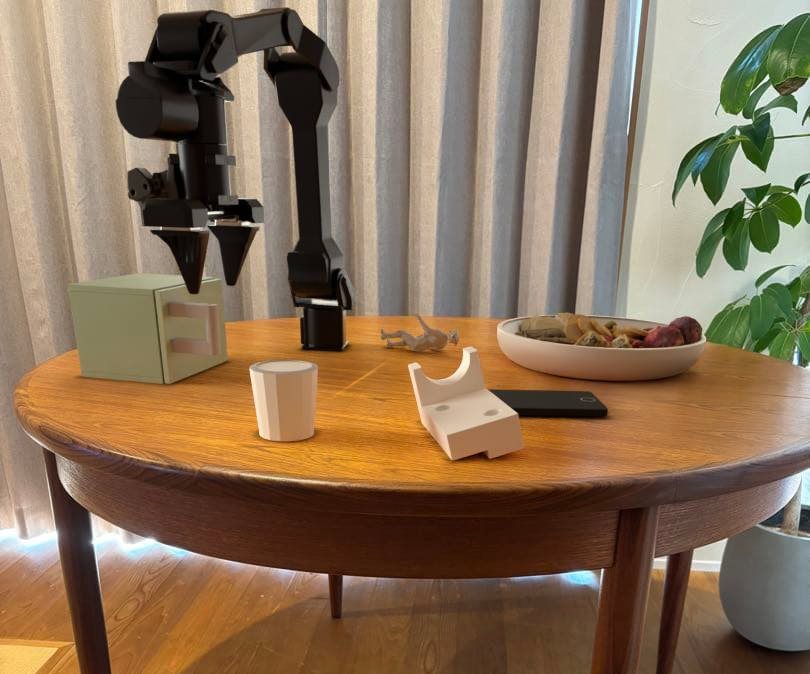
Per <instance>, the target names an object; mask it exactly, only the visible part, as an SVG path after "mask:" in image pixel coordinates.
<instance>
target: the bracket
mask: <svg viewBox="0 0 810 674" xmlns="http://www.w3.org/2000/svg"><path fill="white" fill-rule="evenodd" d="M407 367H408V371H409V375H410V380H411V383H412V387H413V392H414V396H415V400H416V405H417V409H418V414H419V417H420V422H421V424H422V425H423V426H424V428H425V429H426V430H427V432H428V433H429V434H430V435H431V436H432V437H433V439H434V440H435V441H436V443H437V444H438V445H439V447H441V449H442V450H443V451H444V453H445V454H446V455H447V456H448V457H449V459H450V460H451V461H456V460H460V459H463V458H467V457H469V456H472V455H476V454H479V453H483V454H484V455H485V456H486V457H487V458H488V459H490V460H491V459H494V458H497V457H501V456H503V455H508V454H510V453H513V452H517V451H519V450H520V451H521V450H523V449H525V445H524V438H523V433H522V429H521V428H522V427H521V423H520V417H519V416H520V415H518V413H517V412H515V411H514V410H513V409H512V408H510V407H509V406H508V405H507V404H505V403H504V402H503V401H501V400H500V399H499V398H498V397H496V396H495V395H494V394H493V393H491V392H490V391H489V390H488V389H489V388H486V385H485V384H486V383H485V380H484V375H483V370H482V364H481V358H480V353H479V350H478V349H477V348H475V347H473V346H472V345H470V346H466V347H463V348H462V360H461V363H460V365H459V367H458V368H457V370H456V371H455V372H454V373H452V375H449V376H448V377H446V378H442V379H434V378H430V377H428V376H426V375H425V372H424V371H423V367H422V366H421V365H420V364H419V363H418V362H413V363H409V364H407Z"/></svg>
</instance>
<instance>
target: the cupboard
mask: <svg viewBox="0 0 810 674" xmlns="http://www.w3.org/2000/svg"><path fill="white" fill-rule="evenodd" d="M213 279H216V277H214V276H202V281H208V280H213ZM182 285H185V282H184V280H183V277H182V275H181V274H180V275H179V274H163V273H162V274H161V273H142V272H138V273H137V272H136V273H130V274H125V275H124V274H123V275H118V276H111V277H105V278H100V279H99V278H98V279H93V280H86V281H80V282H74V283H67V290H68V296H69V303H70V311H71V315H72V316H71V317H72V322H73V323H72V324H73V328H74V336H75V340H76V349H77V355H78V361H79V368H80V374H81V377H86V378H96V379H97V378H98V379H107V380H117V381H118V380H119V381H128V382H137V383H138V382H139V383H149V384H161V385H164V384H166V383H165V379H164V370H163V361H162V352H161V343H160V333H159V324H158V315H157V306H156V297H155V291H157V290H162V289H167V288H172V287H177V286H182Z"/></svg>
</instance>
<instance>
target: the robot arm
mask: <svg viewBox="0 0 810 674" xmlns="http://www.w3.org/2000/svg"><path fill="white" fill-rule="evenodd" d="M156 23H157V26H156V29H155V31H154V33H153V36H152V39H151V42H150V44H149V47H148V51H147V54H146V57H145V59H144V60H139V61H138V60H137V61H136V60H135V61H128V62H127V70H128V75H127V76H126V77H125V78H124V79H122V81H121V83H120V85H119V87H118V90H117V95H116V99H115V101H114V103H115V111H116V115H117V118H118V120H119V122H120V124H121V126H122V127H123V129H124V130H125V131H126V132H127V133H128V134H129V135H130V136H132V137H134V138H137V139H141V140H143V139H144V140H151V141H162V142H170V143H175V153H168V156H167V158H166V164H167V169H164V170H163V171H160V172H156V171H155V172H152V173H151V172H150V171H149V170H148V169H147V167H134V168H132V169H129V170H127V171H126V184H127V185H126V186H127V191H128V192H127V198H128V199H129V200H132V201H134V202H137V204H138V206H139V210H140V218H141V226H142V227H149V228H151V229H149V231H150V233H151V234H152V235H154V236H157V237H158V238H159V239H160V240H161V241H163V242H164V243H165V245H167V246H168V247H169V250H170V253H171V254H172V256H173V258H174V260H175V262H176V265H177V267H178V270H179V272H180V275H181V276H182V277H183V280H184V282H185V285H186V287H187V289H188V292H189V293H190V294H199V291H200V286H201V282H202V277H204V269H205V265H206V264H205V263H206V258H207V253H208V252H207V250H208V246H209V239H210V234H212V235H213V236H214V237H215V238H216V239H217V241H218V246H219V247H218V248H219V252H220V253H219V254H220V259H221V265H222V271H223V275H224V279H225V284H226V286H227V287H235V286H236V285H237V282H238V280H239V277H240V274H241V272H242V269H243V267H244V264H245V261H246V258H247V256H248V253H249V252H250V249H251V246H252V244H253V241H254V240H255V238H256V235H257V234H258V233H257V232H259V231H260V230H261V229H260V228H261V227H260V226H259V225H250V224H264V223H265V209H264V208H265V207H264V206H263V205H262V202H260V201H259V200H258V198H245V197H244V198H242V197H241V198H240V197H239V195H238V194H232V190H231V174H230V167H237V162H236V159H237V158H236V155H229V145H228V144H229V143H228V129H227V116H226V115H227V114H226V103H233V102H234V101H235V96H234V94H233V92H232V90H231V89H230V88H228V87H227V85H226V84H225V83H224V82H223V80H222V78H221V76H218V75H222V74H224V73H226V72H227V71H229V70H231V69H232V68H233V67H235V66H236V65H238V63H239V58H240V57H242V56H243V55H248V54H253V53H256V52H262V51H263V70H264V72H265V74H266V75H267V77H268V78H269V80H270V81H271V82H272V83H271V84H272V85H273V86H274V88H275V92H276V98H277V104H278V107H279V108H280V110H281V112H282V114H283V115H284V116H285V118H286V120H287V122H288V124H289V125H290V129H291V139H292V155H293V169H294V170H293V172H294V184H295V199H296V212H297V213H296V215H297V229H298V231H297V232H298V240H296V241H297V242H296V244H295V246H294V247H293V249H292V251H291V250H290V251H289V250H288V252H287V256H286V262H287V281H288V286H289V291H290V295H291V300H292V304H293V307H294V308H302V316H301V317H299V333H300V345H301V350H304V351H305V350H307V351H326V352H327V351H329V352H330V351H331V352H342V351H344V350H345V349H346V348H347V347H348V345H349V341H348V340H347V311H353V310H354V308H356V303H357V293H356V290H355V288H354V285H353V284H352V281H351V280H350V278H349V274H348V273H347V271H346V266H345V258H344V254H343V252H342V251H341V249H340V247H339V246H338V244H337V243H336V241H335V240H334V239H335V238H333V231H332V230H333V229H332V209H331V207H332V206H331V189H330V168H329V167H330V166H329V149H328V147H329V146H328V125H329V123H330V121H331V119H332V116H333V114H334V113H335V110H336V108H337V106H338V91H339V89H338V88H339V86H340V71H339V69H340V68H339V66H338V64H337V61H336V60H335V58H334V56H333V53H332V52H331V50H330V48H329V47H328V44H327V43H326V42H325V40H323V39H322V37H320V36H318V35H317V34H316V32H314V31H312V30H311V28H309V27H307V26H306V25H305V24H304V22H303V20H302V19H301V17H300V15H299V13H298V12H297V10H296V9H293V8H292V9H291V7H288V6H286V7H271V8H270V7H269V8H261V9H259V11H256V12H249V13H242V14H236V15H230V13H228V12H223V11H218V10H215V9H203V10H188V11H172V12H164V13H162V14H160V15H159V16H158V17H157V19H156ZM278 47H280V48H281V47H291V48H292V49H293V51H287V52H282V53H281V54H279V52H278V51H277V49H276V48H278ZM208 222H210V223H214V224H208ZM207 224H208V225H207ZM206 226H207V228H208V229H209V230H204V229H201V228H206ZM152 228H153V229H152Z"/></svg>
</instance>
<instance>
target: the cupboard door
mask: <svg viewBox="0 0 810 674" xmlns="http://www.w3.org/2000/svg"><path fill="white" fill-rule="evenodd" d="M223 289H224V288H223V279H222V278H215V279H213V280H208V281H202V282H201V286H200V291H199V294H190V293H189V292H188V289H187V287H186V285H182V286H177V287H172V288H167V289H162V290H157V291H155V297H156V306H157V315H158V324H159V333H160V343H161V352H162V361H163V370H164V379H165V383H164V384H168V385H171V384H173V383H176V382H178V381H181V380H183V379H186V378H189V377H190V376H194V375H196V374H198V373H202V372H203V371H206V370H208V369H211V368H213V367H215V366H218V365H221V364H223V363H225V362H227V361H229V358H228V345H227V333H226V332H227V331H226V319H225V305H224V304H225V303H224V291H223Z"/></svg>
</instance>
